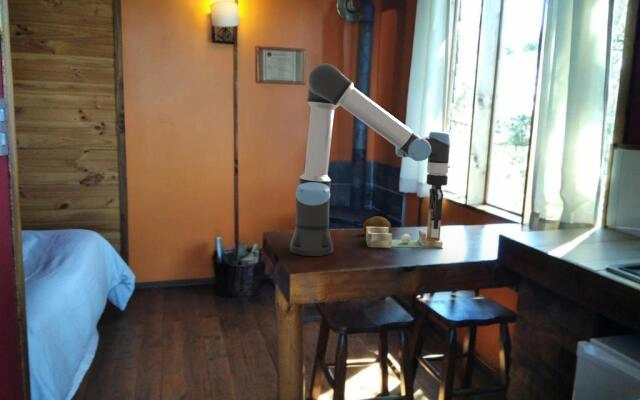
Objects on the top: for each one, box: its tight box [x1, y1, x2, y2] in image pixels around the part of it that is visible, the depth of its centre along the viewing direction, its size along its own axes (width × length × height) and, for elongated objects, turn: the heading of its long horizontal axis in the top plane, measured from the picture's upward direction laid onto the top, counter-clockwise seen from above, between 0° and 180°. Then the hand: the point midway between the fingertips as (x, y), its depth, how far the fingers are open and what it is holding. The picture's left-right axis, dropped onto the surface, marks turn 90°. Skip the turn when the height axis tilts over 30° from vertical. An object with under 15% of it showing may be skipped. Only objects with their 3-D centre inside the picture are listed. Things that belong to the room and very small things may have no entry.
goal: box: [365, 227, 393, 249], centre depth 195 cm, size 9×12×5 cm
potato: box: [362, 215, 391, 234], centre depth 208 cm, size 8×12×8 cm, turn 122°
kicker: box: [418, 208, 443, 248], centre depth 194 cm, size 7×10×13 cm
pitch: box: [391, 239, 444, 250], centre depth 195 cm, size 26×10×1 cm, turn 89°
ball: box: [400, 233, 412, 244], centre depth 195 cm, size 4×4×4 cm
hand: (433, 235), depth 194 cm, fingers closed on kicker, 4 cm apart
